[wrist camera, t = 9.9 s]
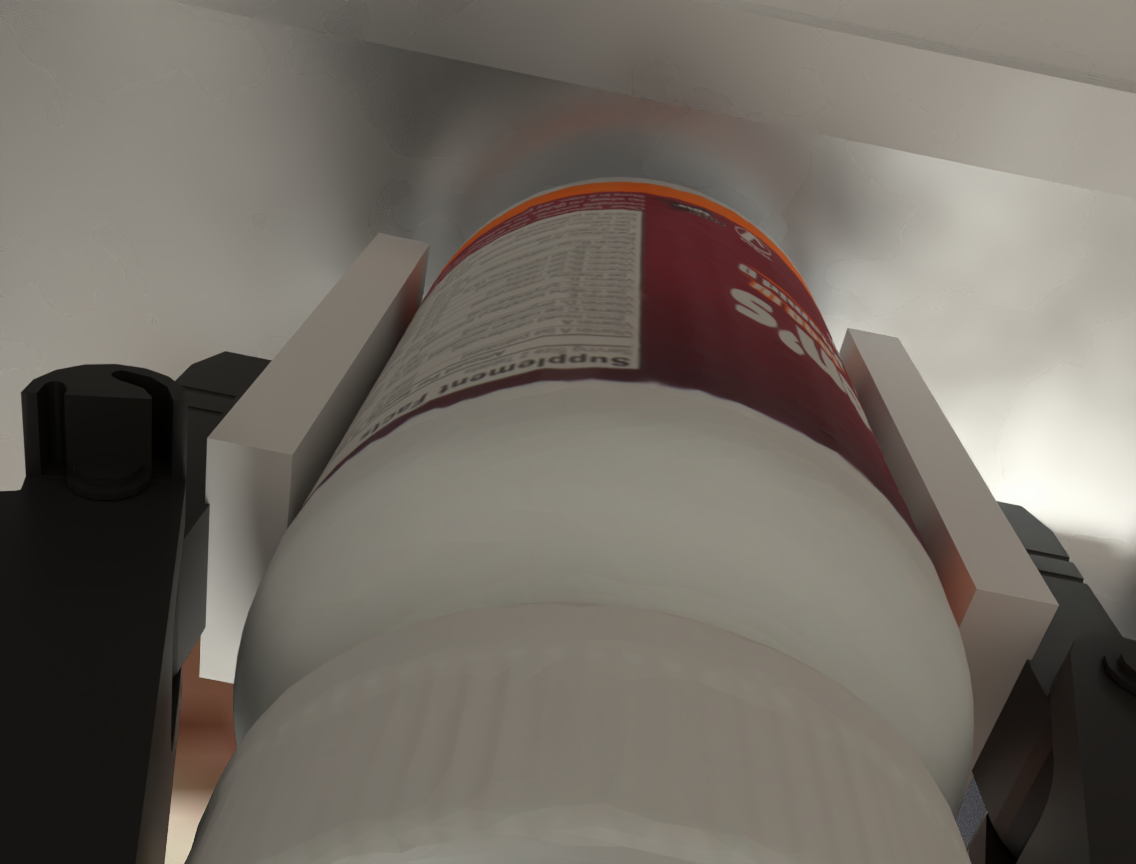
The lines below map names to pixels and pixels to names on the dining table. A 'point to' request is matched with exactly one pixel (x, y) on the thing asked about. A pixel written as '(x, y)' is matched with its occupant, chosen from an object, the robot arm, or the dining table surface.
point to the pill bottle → (602, 579)
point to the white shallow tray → (600, 150)
